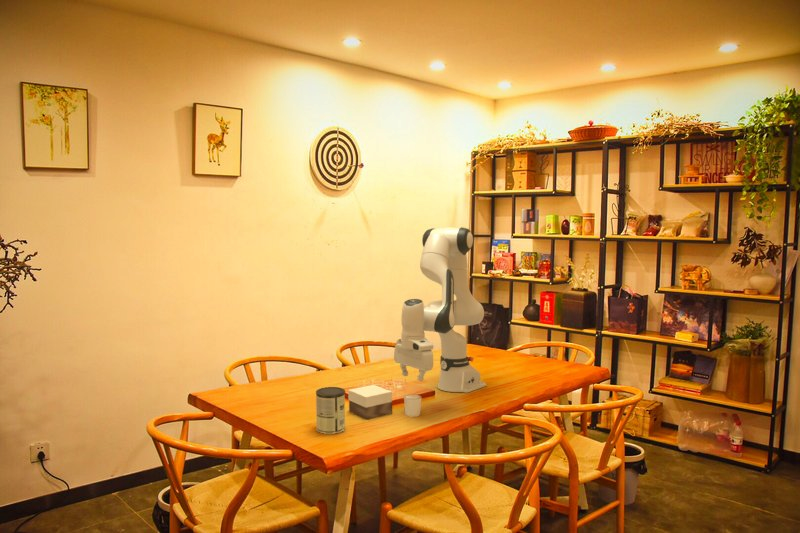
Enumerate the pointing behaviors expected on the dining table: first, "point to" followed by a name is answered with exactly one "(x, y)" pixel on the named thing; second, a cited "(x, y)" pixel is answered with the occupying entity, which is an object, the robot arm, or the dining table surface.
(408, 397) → the white cylinder
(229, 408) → the dining table surface
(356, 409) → the walnut base block
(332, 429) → the coffee can
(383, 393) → the cream top block
